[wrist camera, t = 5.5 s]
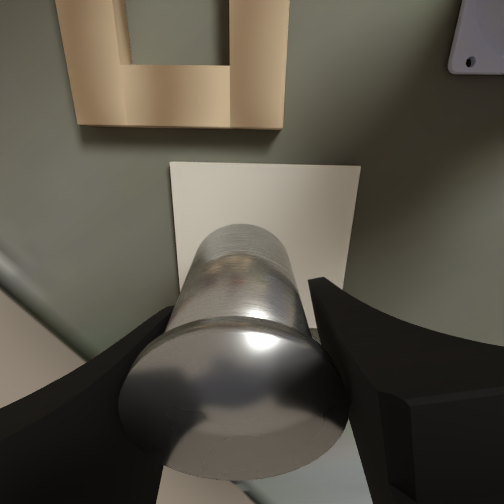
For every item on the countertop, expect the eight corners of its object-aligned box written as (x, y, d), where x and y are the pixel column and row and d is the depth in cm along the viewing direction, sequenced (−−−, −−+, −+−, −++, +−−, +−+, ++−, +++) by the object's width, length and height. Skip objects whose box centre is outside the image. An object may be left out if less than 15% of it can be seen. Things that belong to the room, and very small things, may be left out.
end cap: (285, 200, 11) (332, 307, 5) (307, 301, 13) (359, 463, 7) (166, 231, 12) (71, 364, 5) (206, 323, 14) (172, 492, 8)
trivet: (358, 165, 17) (360, 166, 17) (334, 324, 22) (336, 329, 21) (172, 161, 18) (169, 161, 17) (184, 317, 22) (182, 321, 21)
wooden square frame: (295, -150, 13) (299, -188, 11) (281, 130, 17) (282, 127, 16) (48, -144, 13) (22, -179, 12) (93, 126, 17) (77, 124, 16)
